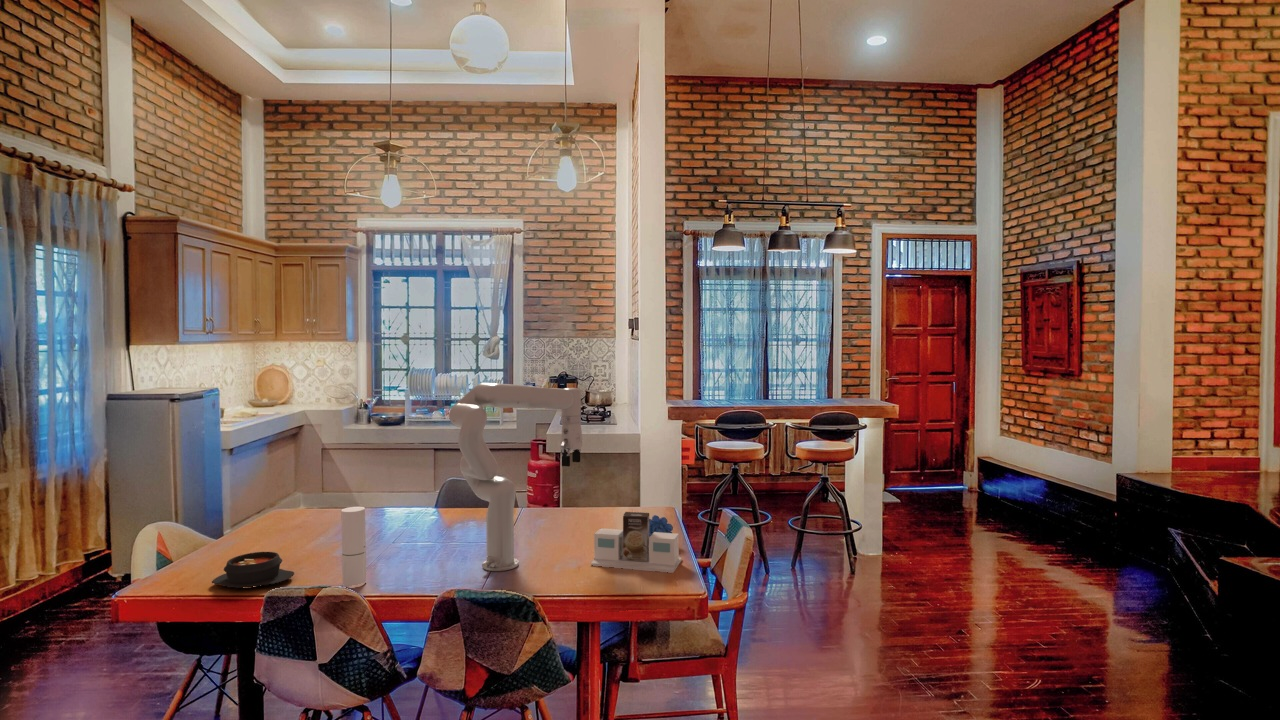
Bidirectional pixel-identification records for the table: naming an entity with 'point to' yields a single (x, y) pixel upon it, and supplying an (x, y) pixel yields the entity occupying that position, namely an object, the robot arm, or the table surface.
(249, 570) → the casserole
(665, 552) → the rail board
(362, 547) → the cylindrical container
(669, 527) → the grapes
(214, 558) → the table surface
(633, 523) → the coffee box
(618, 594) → the table surface
